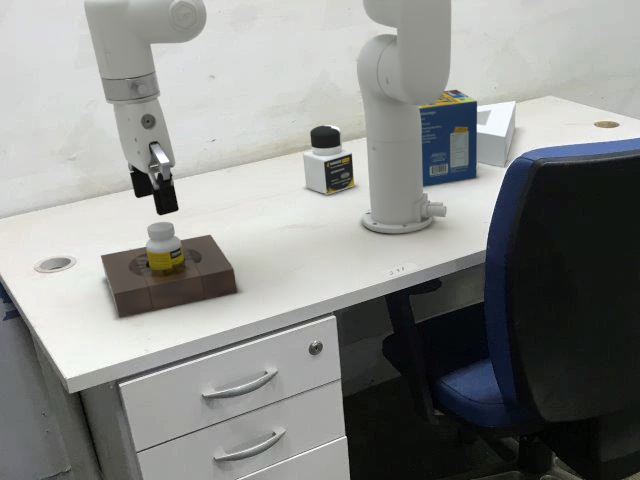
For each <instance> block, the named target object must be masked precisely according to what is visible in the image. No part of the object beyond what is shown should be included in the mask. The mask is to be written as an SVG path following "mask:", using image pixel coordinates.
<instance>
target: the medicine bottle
mask: <svg viewBox="0 0 640 480" xmlns="http://www.w3.org/2000/svg"><path fill="white" fill-rule="evenodd" d="M309 135H310V144H311V150H310V151H307V152H303V155H302V159H303V168H304V169H303V170H304V176H305V187H306V188H307V189H309V190H312V191H315V192H317V193H321V194H323V195H326V196H328V195H332V194H335V193H338V192H341V191H344V190H347V189H350V188H354V186H355V179H354V177H355V176H354V165H353V152H352V151H350V150H346V149H343V141H342V140H343V138H342V130H341V129H340V127H338V126H336V125H329V124H326V125H325V124H324V125H318V126H316V127H313V128H312V129H311V130H310V132H309Z"/></svg>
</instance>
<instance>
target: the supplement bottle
mask: <svg viewBox="0 0 640 480" xmlns="http://www.w3.org/2000/svg"><path fill="white" fill-rule="evenodd" d="M146 229H147V230H146V231H147V235H148V238H149V239H148V240H147V241H146V243H145V247H146V250H147V255H148V261H149V266H150V269H153V270H166V269H171V268H174V267H177V266H180V265H181V264H183V263H184V256H183V250H182V244H181V241H180V240H181V238H180V237H178V236H177V235H175V234H176V231H175V226H174V223H172V222H169V221H159V222H154V223H151V224H149V225H148V226H147V227H146Z"/></svg>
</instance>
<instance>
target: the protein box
mask: <svg viewBox="0 0 640 480" xmlns="http://www.w3.org/2000/svg"><path fill="white" fill-rule="evenodd" d="M477 106H478V101H477V100H475V99H474V98H472V97H470V96H468V95H467V94H466V93H463V92H461V91H460V90H459V89H451V90H444V92H443V94H442V95H441V96H440V98H439V99H437V100H436V101H435V102H433V103H431V104H429V105H424V106H419V110H420V116H421V126H422V172H423V187H425V186H431V185H438V184H439V185H440V184H444V183H452V182H458V181H463V180H464V181H465V180H470V179H476V178H477V165H478V164H477V163H478V162H477Z"/></svg>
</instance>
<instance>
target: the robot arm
mask: <svg viewBox="0 0 640 480" xmlns="http://www.w3.org/2000/svg"><path fill="white" fill-rule="evenodd" d="M362 5H363V9H364V11H365V14H366V16H367V17H368V18H369V19H370V20H372V21H373V22H374V23H376V24H378V25H382V26H385V27H390V28H394V29H396V34H392V33H383V34H378V35H375V36H373V37H371V38H370V39H368V40H367V41H366V42H365V43H364V44H363V46H362V47H361V49H360V50H359V53H358V57H357V61H356V75H357V76H356V77H357V81H358V86H359V90H360V94H361V98H362V105H363V111H364V123H365V136H366V137H365V138H366V153H367V170H368V187H369V188H368V189H369V200H370V201H369V202H370V203H369V204H370V209H368V210H367V211H365V212H364V214H362V224H363V226H364V227H365V228H367V229H369V230H371V231H373V232H378V233H383V234H404V233H405V234H407V233H411V232H415V231H416V232H417V231H419V230H421V229H425V228H426V227H428V226H429V225H430V224H431V223H432V221H433V217H436V218H438V217H439V218H446V215H447V210H448V209H447V206H446V205H444V203H443V201H441V202H439V201H434V202H433V201H431V200H429V195H428V193H426V192H424V186H423V172H422V126H421V116H420V110H419V106H424V105H429V104H431V103H433V102H435V101H436V100H437V99H439V98H440V96H441V95H442V94H443V92H444V91H446V88H447V85H448V82H449V78H450V74H451V73H450V72H451V56H452V55H451V54H452V0H362ZM83 7H84V13H85V19H86V22H87V26H88V29H89V34H90V38H91V43H92V46H93V51H94V55H95V60H96V64H97V67H98V74H99V76H100V81H101V85H102V89H103V94H104V98H105V102H106V103H108V104H111V105H112V107H113V113H114V118H115V123H116V128H117V132H118V137H119V142H120V146H121V149H122V153H123V156H124V158H125V160H126V161H127V167H128V170H129V175H130V180H131V184H132V188H133V194H134V196H135V197H136V198H137V199H141V198H146V197H150V196H152V197H153V203H154V206H155V211H156V214H157V215H158V216H164V215H168V214H172V213H176V212H178V211H179V210H180V208H179V203H178V198H177V192H176V188H175V182H174V179H173V173H172V171H171V169H172V168H174V167H175V166H176V159H175V156H174V155H175V154H174V151H173V146H172V143H171V142H172V141H171V139H170V133H169V130H168V126H167V122H166V119H165V116H164V113H163V110H162V107H161V104H160V101H159V97H160V96H161V90H160V86H159V81H158V76H157V71H156V66H155V61H154V56H153V52H152V51H153V50H152V45H153V44H155V45H157V44H181V43H182V44H183V43H187V42H191V41H192V40H194V39H196V38H197V37H199V35H200V34H201V33H202V32H203V31H204V28H205V26H206V23H207V17H208V16H207V8H206V5H205V2H204V1H203V0H83ZM156 174H157V175H156Z"/></svg>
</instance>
